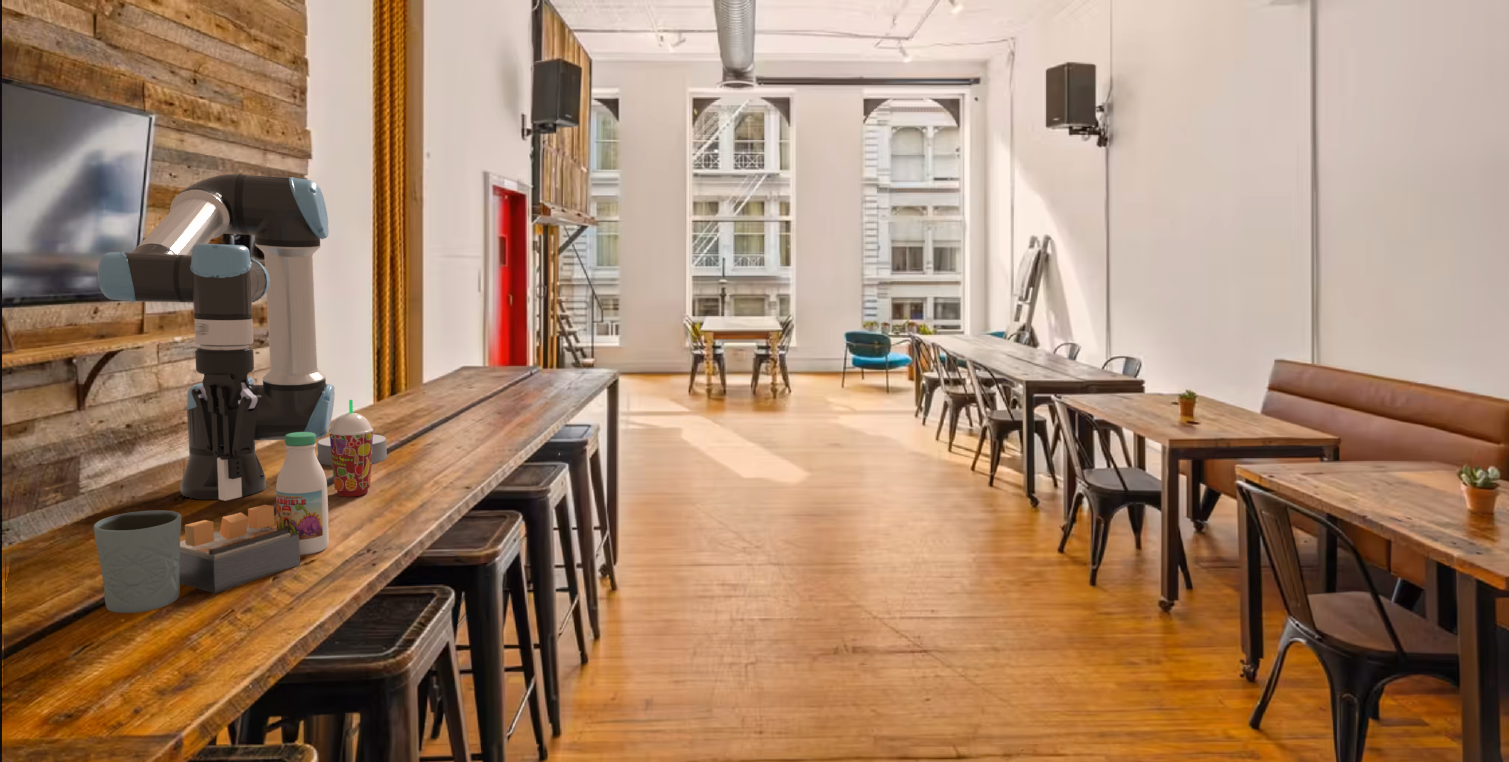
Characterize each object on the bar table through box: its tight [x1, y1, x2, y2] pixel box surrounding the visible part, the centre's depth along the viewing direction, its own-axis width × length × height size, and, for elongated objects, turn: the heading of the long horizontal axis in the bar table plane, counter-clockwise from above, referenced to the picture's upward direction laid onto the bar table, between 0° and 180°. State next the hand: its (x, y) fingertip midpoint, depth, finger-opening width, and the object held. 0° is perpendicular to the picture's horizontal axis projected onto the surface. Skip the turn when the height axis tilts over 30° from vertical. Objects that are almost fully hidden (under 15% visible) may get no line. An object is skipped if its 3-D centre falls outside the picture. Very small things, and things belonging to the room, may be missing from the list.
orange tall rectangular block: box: [184, 519, 215, 547], centre depth 128 cm, size 2×3×3 cm, turn 156°
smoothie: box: [328, 399, 375, 498], centre depth 178 cm, size 8×8×20 cm
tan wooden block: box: [247, 504, 275, 529], centre depth 137 cm, size 2×3×3 cm, turn 156°
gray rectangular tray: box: [179, 525, 301, 594], centre depth 133 cm, size 12×14×6 cm
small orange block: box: [219, 512, 249, 540], centre depth 133 cm, size 2×3×3 cm, turn 158°
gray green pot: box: [93, 509, 182, 614], centre depth 121 cm, size 10×10×12 cm
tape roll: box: [317, 434, 388, 467], centre depth 209 cm, size 15×15×5 cm
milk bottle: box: [275, 432, 330, 556], centre depth 144 cm, size 8×8×20 cm
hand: (230, 497), depth 132 cm, fingers closed
